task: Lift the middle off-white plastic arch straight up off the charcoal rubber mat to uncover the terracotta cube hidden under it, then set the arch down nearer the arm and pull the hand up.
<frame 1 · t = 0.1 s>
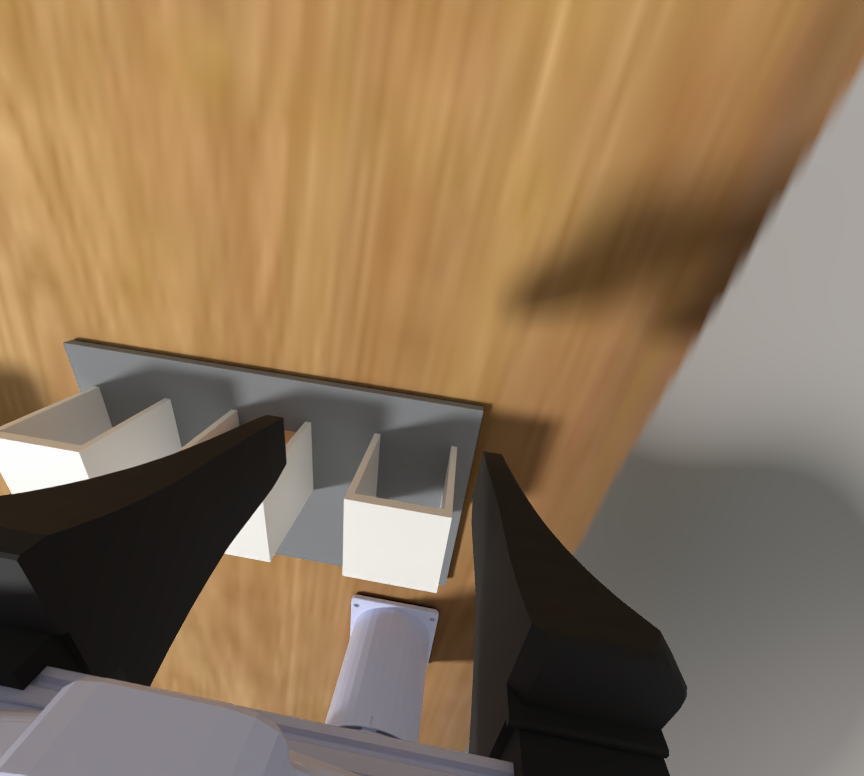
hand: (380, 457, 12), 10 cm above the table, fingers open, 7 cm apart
arch middle: (274, 451, 25), point 1 cm above the table, touching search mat
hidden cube: (274, 451, 25), point 1 cm above the table, touching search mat
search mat: (280, 473, 27), on the table
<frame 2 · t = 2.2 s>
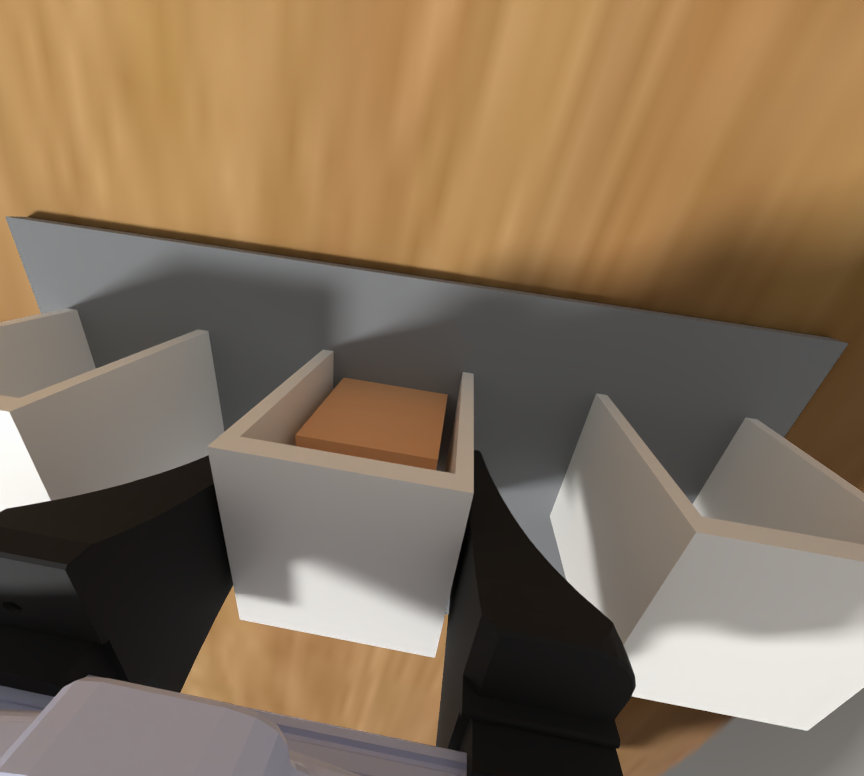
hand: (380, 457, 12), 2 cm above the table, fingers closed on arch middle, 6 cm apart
arch middle: (391, 430, 14), point 1 cm above the table, touching gripper, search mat
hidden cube: (391, 430, 14), point 1 cm above the table, touching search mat
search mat: (389, 469, 16), on the table
when the fingers open (4 cm above the table, at t = 6.7 s): arch middle drops 1 cm, resting on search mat.
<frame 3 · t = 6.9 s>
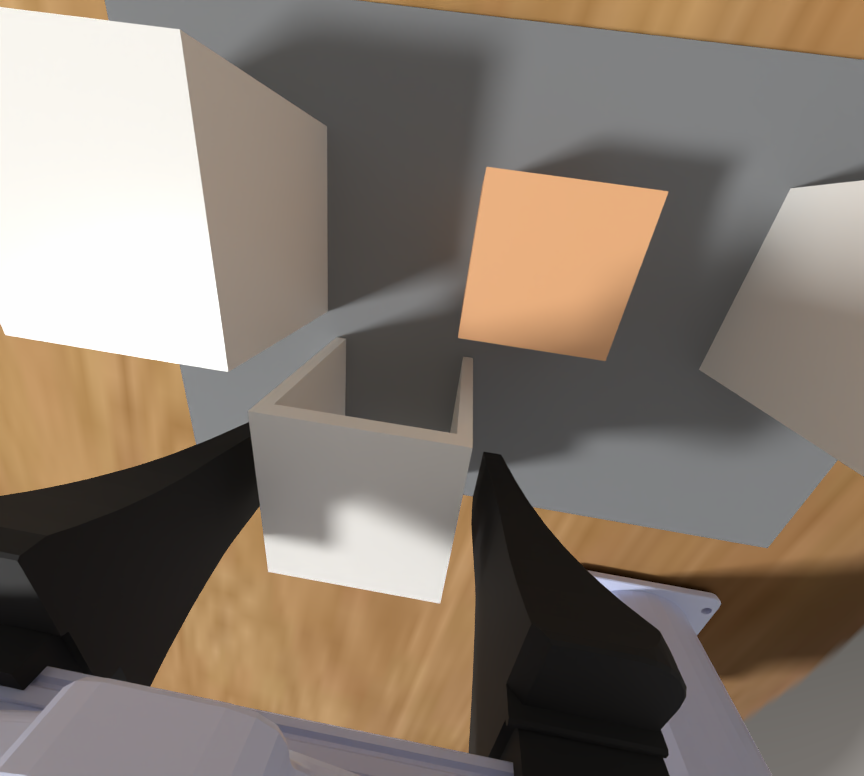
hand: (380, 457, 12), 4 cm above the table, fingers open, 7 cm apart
arch middle: (398, 411, 15), point 1 cm above the table, touching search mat
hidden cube: (528, 258, 12), point 1 cm above the table, touching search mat
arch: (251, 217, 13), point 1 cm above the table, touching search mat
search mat: (510, 323, 14), on the table
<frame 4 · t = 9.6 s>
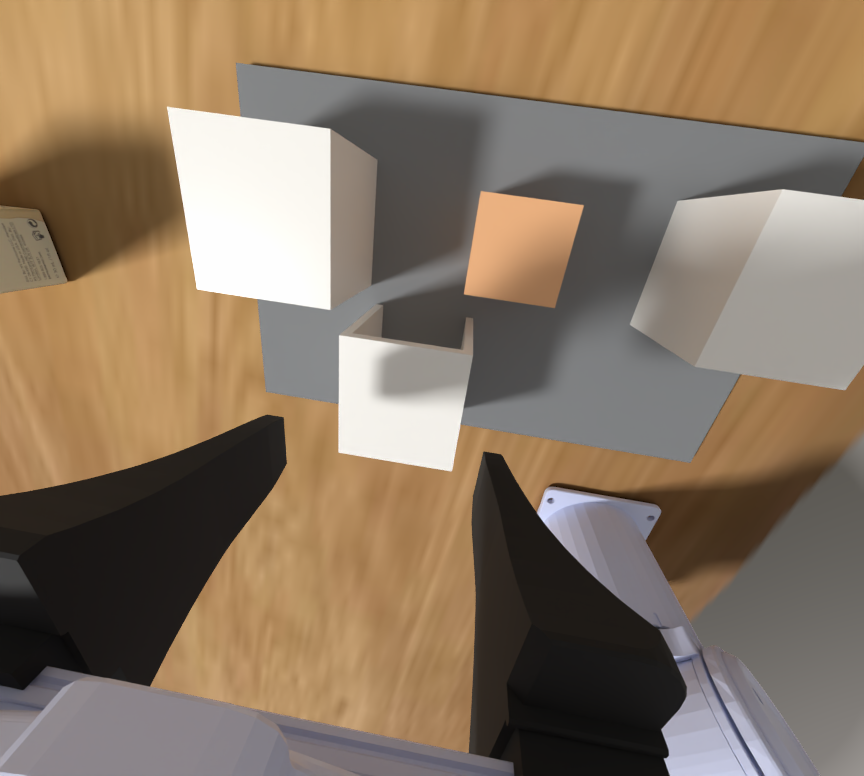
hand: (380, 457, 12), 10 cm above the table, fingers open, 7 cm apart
arch middle: (419, 359, 21), point 1 cm above the table, touching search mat
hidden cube: (510, 246, 18), point 1 cm above the table, touching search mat
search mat: (499, 293, 20), on the table
skincare box: (16, 245, 22), on the table
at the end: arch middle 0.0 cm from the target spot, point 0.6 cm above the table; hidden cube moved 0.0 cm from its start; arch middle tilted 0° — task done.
